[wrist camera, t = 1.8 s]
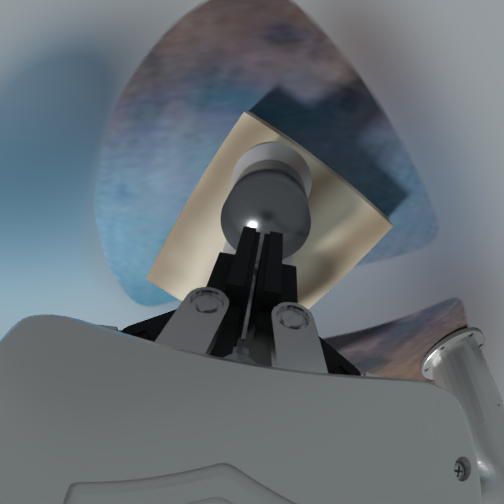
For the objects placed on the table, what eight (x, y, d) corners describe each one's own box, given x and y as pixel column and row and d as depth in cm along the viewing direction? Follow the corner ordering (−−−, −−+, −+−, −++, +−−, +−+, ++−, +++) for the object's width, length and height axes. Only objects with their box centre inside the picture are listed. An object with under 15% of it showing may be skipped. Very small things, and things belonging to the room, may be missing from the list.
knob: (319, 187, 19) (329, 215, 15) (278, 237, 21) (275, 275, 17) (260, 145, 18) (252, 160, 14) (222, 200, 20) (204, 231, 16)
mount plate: (383, 212, 25) (393, 227, 23) (267, 328, 35) (265, 347, 32) (248, 110, 22) (243, 111, 19) (155, 264, 32) (145, 280, 29)
